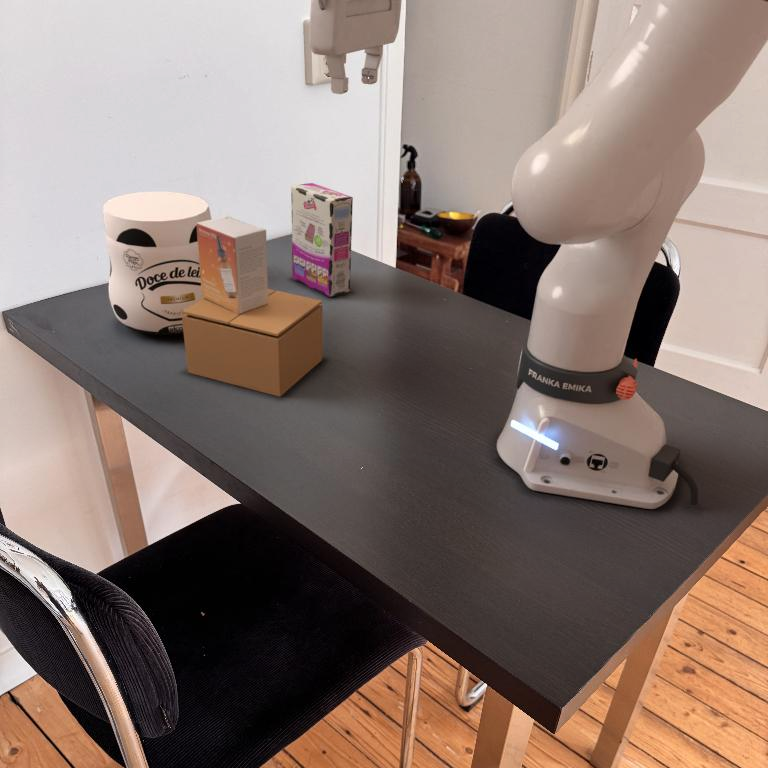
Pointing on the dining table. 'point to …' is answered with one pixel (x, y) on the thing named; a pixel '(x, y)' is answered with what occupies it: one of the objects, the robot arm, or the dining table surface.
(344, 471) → the dining table surface
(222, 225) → the small box
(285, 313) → the flap
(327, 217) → the candy bar box
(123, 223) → the doce de leite jar
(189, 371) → the carton
